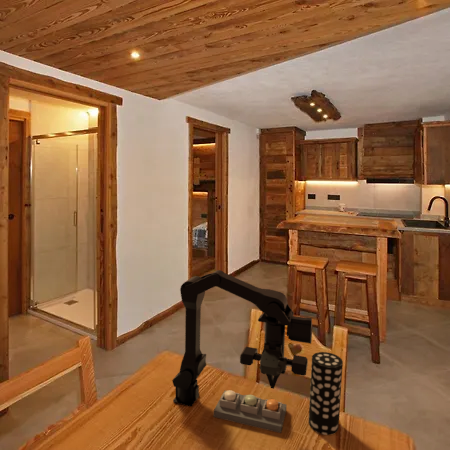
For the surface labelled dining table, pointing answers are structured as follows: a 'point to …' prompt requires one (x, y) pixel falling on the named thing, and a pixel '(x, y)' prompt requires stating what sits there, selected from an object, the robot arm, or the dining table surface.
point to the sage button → (250, 400)
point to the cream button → (230, 396)
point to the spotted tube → (325, 392)
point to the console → (251, 413)
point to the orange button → (272, 405)
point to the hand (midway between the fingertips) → (272, 387)
